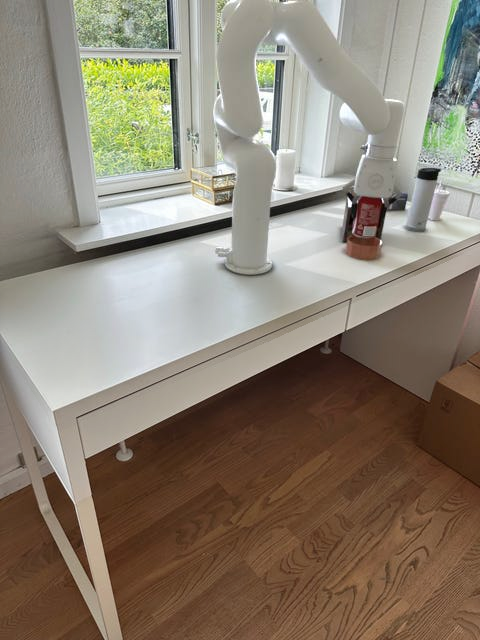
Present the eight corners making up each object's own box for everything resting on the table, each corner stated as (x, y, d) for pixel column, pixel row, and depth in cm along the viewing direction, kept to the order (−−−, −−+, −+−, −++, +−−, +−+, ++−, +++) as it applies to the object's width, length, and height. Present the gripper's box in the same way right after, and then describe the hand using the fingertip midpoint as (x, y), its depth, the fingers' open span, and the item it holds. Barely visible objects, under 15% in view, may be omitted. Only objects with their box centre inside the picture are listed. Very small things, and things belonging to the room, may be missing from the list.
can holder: (346, 257, 133) (348, 244, 131) (345, 245, 142) (347, 233, 140) (380, 261, 132) (383, 247, 130) (377, 248, 140) (380, 236, 138)
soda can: (377, 240, 131) (387, 198, 125) (353, 239, 131) (362, 196, 125) (372, 232, 137) (380, 191, 131) (349, 231, 137) (356, 189, 131)
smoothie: (422, 215, 171) (431, 176, 163) (440, 216, 170) (450, 177, 163) (426, 220, 165) (435, 180, 158) (444, 222, 164) (455, 182, 157)
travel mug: (422, 233, 154) (437, 171, 143) (402, 228, 157) (416, 167, 147) (428, 228, 158) (443, 167, 148) (409, 224, 161) (423, 164, 151)
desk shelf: (342, 242, 144) (348, 207, 138) (342, 228, 155) (347, 195, 149) (379, 245, 143) (386, 210, 137) (376, 231, 154) (382, 198, 148)
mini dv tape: (384, 210, 174) (388, 194, 171) (382, 209, 175) (386, 193, 172) (404, 210, 175) (408, 194, 172) (402, 208, 177) (406, 192, 174)
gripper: (346, 151, 120) (335, 219, 129) (416, 157, 118) (400, 226, 127) (346, 146, 127) (335, 211, 136) (412, 152, 125) (396, 217, 134)
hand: (366, 217), depth 131 cm, fingers closed on soda can, 6 cm apart
